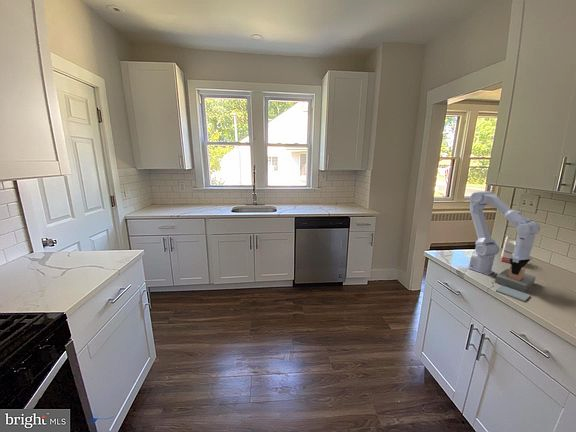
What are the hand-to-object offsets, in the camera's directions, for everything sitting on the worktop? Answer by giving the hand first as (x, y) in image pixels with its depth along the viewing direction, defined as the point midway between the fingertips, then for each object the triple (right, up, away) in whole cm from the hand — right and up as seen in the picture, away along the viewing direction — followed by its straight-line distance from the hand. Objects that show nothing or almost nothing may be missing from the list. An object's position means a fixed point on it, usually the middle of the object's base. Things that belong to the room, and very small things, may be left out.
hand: (516, 272), depth 118 cm
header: (+2, -6, +3) cm, 6 cm away
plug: (0, -5, +1) cm, 5 cm away
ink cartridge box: (+22, +1, +30) cm, 37 cm away
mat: (-9, -8, -7) cm, 14 cm away
